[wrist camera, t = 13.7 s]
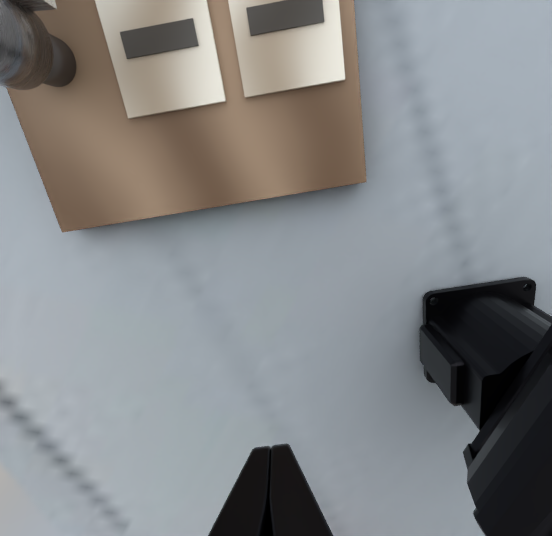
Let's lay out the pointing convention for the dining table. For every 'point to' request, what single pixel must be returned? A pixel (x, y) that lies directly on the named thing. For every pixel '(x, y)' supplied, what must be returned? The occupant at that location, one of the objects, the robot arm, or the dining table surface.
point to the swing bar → (24, 44)
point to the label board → (193, 105)
